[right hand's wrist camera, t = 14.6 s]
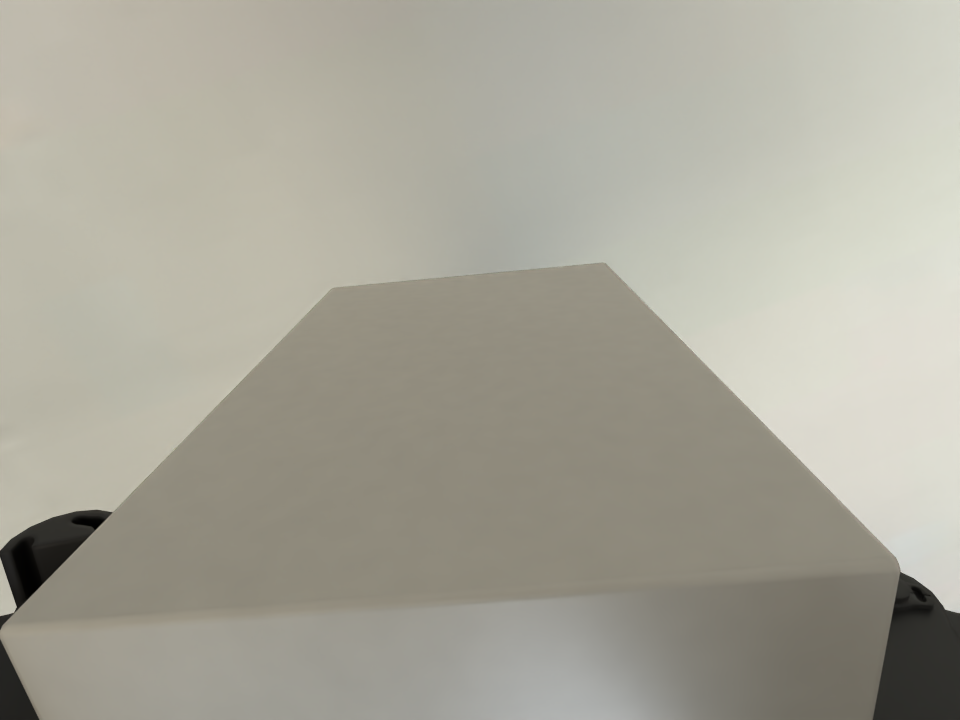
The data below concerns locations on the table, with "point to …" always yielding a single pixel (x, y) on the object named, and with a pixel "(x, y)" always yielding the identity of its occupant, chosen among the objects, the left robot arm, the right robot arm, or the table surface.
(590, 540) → the box
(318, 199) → the table surface
